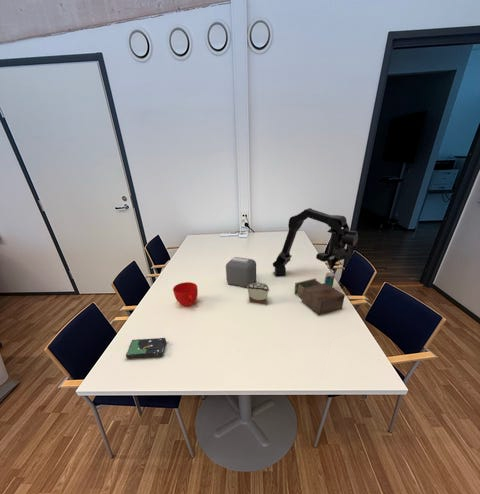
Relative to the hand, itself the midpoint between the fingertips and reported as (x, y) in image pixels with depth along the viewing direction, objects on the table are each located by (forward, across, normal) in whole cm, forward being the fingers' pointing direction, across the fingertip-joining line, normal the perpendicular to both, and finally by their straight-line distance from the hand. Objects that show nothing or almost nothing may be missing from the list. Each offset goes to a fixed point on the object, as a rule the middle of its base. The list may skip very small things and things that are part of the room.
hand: (331, 269), depth 148 cm
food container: (+13, -42, +6) cm, 44 cm away
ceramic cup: (+13, -78, +19) cm, 82 cm away
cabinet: (+13, -14, -13) cm, 23 cm away
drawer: (+12, -14, -1) cm, 19 cm away
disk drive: (+13, -104, -11) cm, 106 cm away
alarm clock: (+13, -42, +31) cm, 54 cm away
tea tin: (+13, 0, 0) cm, 13 cm away
